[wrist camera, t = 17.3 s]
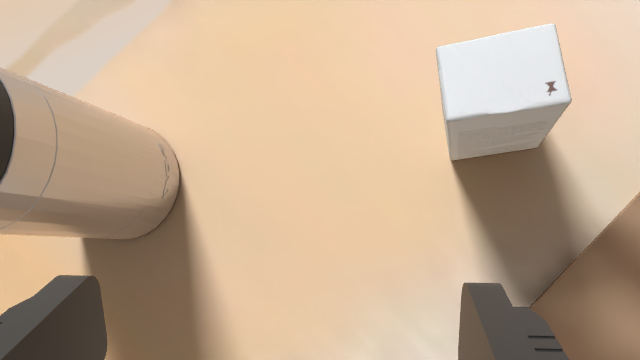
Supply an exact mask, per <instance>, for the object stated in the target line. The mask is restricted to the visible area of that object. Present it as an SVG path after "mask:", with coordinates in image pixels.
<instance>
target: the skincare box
mask: <svg viewBox="0 0 640 360" xmlns="http://www.w3.org/2000/svg"><path fill="white" fill-rule="evenodd" d="M436 56H437V65H438V73H439V82H440V90H441V99H442V109H443V117H444V124H445V131H446V138H447V144H448V151H449V157H450V159H451V160H459V159H465V158H472V157H479V156H485V155H492V154H499V153H505V152H512V151H518V150H525V149H531V148H537V147H538V146H539V144H540V143H541V142H542V140H543V139H544V138H545V136H546V135H547V134H548V132H549V131H550V130H551V128H552V127H553V126H554V124H555V123H556V121H557V120H558V119H559V117H560V116H561V115H562V113H563V112H564V111H565V109H566V108H567V107H568V105H569V104H570V103H571V101H572V99H571V95H570V90H569V86H568V81H567V77H566V72H565V68H564V63H563V58H562V54H561V49H560V44H559V40H558V35H557V30H556V26H555V24H547V25H542V26H537V27H532V28H527V29H522V30H517V31H512V32H507V33H502V34H497V35H493V36H488V37H484V38H479V39H474V40H470V41H464V42H459V43H455V44H450V45H445V46H439V47H437V48H436Z"/></svg>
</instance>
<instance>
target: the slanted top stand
mask: <svg viewBox="0 0 640 360" xmlns="http://www.w3.org/2000/svg"><path fill="white" fill-rule="evenodd" d="M529 309H531V310H532V311H533V312H535V313H536V314H538V315H539V316H540V317H542V318H543V319H544V320H546V322H547V323H548V325H549V327H550V328H551V330H552V332H553V333H554V335H555V339H557V340H558V342H559V343H560V345H561V347H562V348H563V352H565V353H566V355H567V357H568V358H569V360H640V193H639V194H638V195H637V196H636V197H635V198H634V199H633V200H632V201H631V202H630V203H629V204H628V205H627V206H626V207H625V208H624V209H623V210H622V211H621V212H620V213H619V215H618V216H617V217H616V218H615V219H614V220H613V221H612V222H611V223H610V224H609V225H608V226H607V227H606V228H605V229H604V230H603V231H602V232H601V233H600V234H599V235H598V236H597V238H596V239H595V240H594V241H593V242H592V243H591V244H590V245H589V246H588V247H587V248H586V249H585V250H584V251H583V252H582V253H581V254H580V255H579V256H578V257H577V258H576V259H575V260H574V262H573V263H572V264H571V265H570V266H569V267H568V268H567V269H566V270H565V271H564V272H563V273H562V274H561V275H560V276H559V277H558V278H557V279H556V280H555V281H554V282H553V283H552V285H551V286H550V287H549V288H548V289H547V290H546V291H545V292H544V293H543V294H542V295H541V296H540V297H539V298H538V299H537V300H536V301H535V302H534V303H533V304H532V305H531V306H530V308H529Z"/></svg>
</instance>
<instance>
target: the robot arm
mask: <svg viewBox="0 0 640 360" xmlns="http://www.w3.org/2000/svg"><path fill="white" fill-rule="evenodd" d="M178 188H179V169H178V163H177V160H176V157H175V155H174V152H173V150H172V149H171V147H170V146H169V144H168V143H167V141H166V140H165V139H164V138H162V137H161V136H160V135H159V134H158V133H156V132H154V131H153V130H151V129H149V128H147V127H144V126H142V125H139V124H137V123H134V122H132V121H130V120H127V119H125V118H123V117H120V116H118V115H116V114H113V113H111V112H108V111H106V110H103V109H101V108H98V107H96V106H94V105H91V104H89V103H86V102H84V101H81V100H79V99H76V98H74V97H71V96H69V95H67V94H64V93H62V92H59V91H57V90H54V89H52V88H49V87H47V86H45V85H42V84H40V83H37V82H35V81H32V80H30V79H27V78H25V77H22V76H20V75H18V74H15V73H13V72H10V71H7V70H5V69H2V68H0V234H8V235H33V236H58V237H82V238H101V239H131V238H136V237H139V236H142V235H145V234H147V233H148V232H150V231H151V230H153V229H155V228H156V227H157V226H158V225H159V224H160V223H161V222H162V221H163V220H164V219H165V218H166V216H167V215H168V213H169V212H170V210H171V209H172V206H173V204H174V202H175V200H176V197H177V192H178ZM106 351H107V334H106V327H105V320H104V313H103V306H102V299H101V292H100V286H99V283H98V280H97V279H96V278H95V277H94V276H70V275H59V276H57V277H55V278H54V279H53V280H52V281H51V282H50V283H48V284H47V285H46V286H45V287H44V288H43V289H41V290H40V291H39V292H38V293H37V294H35V295H34V296H33V297H31V298H29V299H27V300H25V301H23V302H21V303H19V304H17V305H15V306H13V307H11V308H9V309H8V310H7V311H6V312H4V313H3V314H2V315H1V316H0V360H104V359H105V356H106ZM458 360H569V358H568V357H567V355H566V353H565V352H563V348H562V347H561V345H560V343H559V342H558V340H557V339H555V335H554V333H553V332H552V330H551V328H550V327H549V325H548V323H547V322H546V320H544V319H543V318H542V317H540V316H539V315H538V314H536V313H535V312H533V311H532V310H531V309H529V308H528V307H512V305H511V303H510V301H509V299H508V297H507V295H506V293H505V291H504V289H503V287H502V285H501V284H500V283H464V284H463V287H462V295H461V312H460V329H459V346H458Z"/></svg>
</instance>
